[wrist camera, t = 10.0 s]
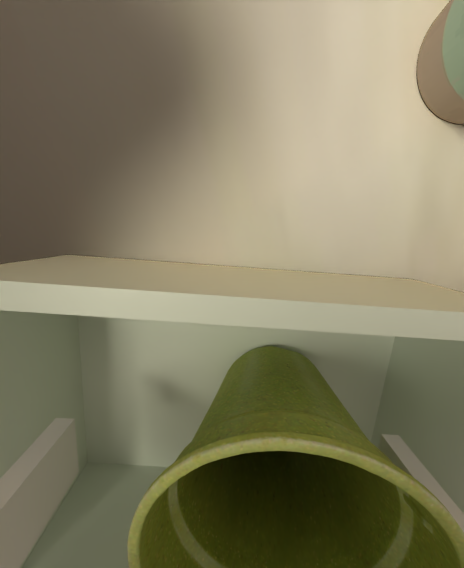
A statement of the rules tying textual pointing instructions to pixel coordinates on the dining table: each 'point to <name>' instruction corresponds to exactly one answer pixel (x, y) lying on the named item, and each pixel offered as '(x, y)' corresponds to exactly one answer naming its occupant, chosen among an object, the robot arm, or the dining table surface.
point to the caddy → (206, 371)
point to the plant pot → (287, 485)
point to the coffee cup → (444, 64)
